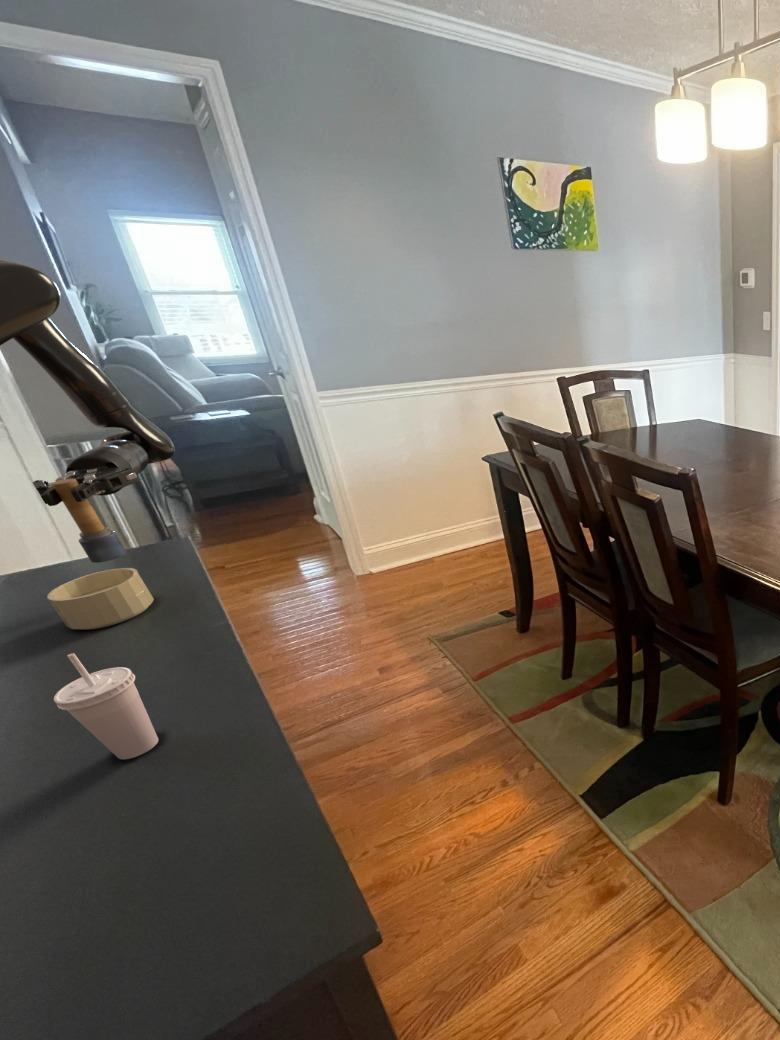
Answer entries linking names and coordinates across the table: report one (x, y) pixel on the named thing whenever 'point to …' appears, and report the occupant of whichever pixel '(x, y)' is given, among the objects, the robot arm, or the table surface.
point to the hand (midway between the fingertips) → (62, 498)
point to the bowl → (101, 599)
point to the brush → (90, 526)
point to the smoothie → (109, 709)
